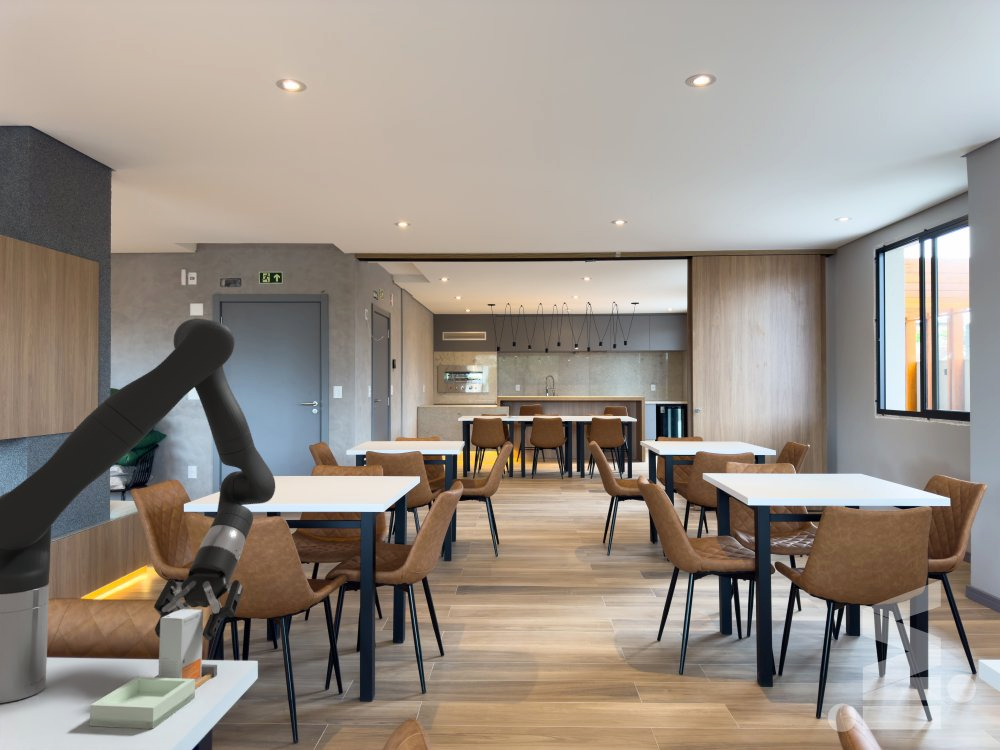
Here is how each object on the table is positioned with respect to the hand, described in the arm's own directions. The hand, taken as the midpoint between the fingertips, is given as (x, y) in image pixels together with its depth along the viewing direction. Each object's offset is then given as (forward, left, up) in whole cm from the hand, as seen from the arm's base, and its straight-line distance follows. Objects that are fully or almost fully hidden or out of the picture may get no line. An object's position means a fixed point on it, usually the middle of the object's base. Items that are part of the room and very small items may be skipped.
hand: (182, 636), depth 117 cm
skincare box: (0, 0, -8) cm, 8 cm away
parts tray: (0, -11, -8) cm, 13 cm away
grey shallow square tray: (0, 0, -8) cm, 8 cm away
